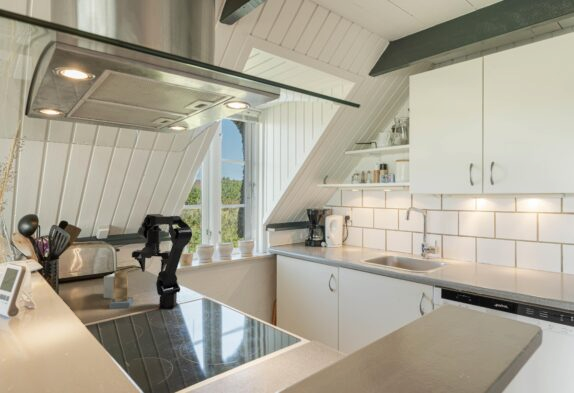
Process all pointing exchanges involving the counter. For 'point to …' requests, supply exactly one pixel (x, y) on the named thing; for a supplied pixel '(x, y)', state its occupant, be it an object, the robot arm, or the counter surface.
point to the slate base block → (121, 304)
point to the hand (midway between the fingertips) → (152, 272)
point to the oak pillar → (121, 285)
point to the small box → (109, 286)
